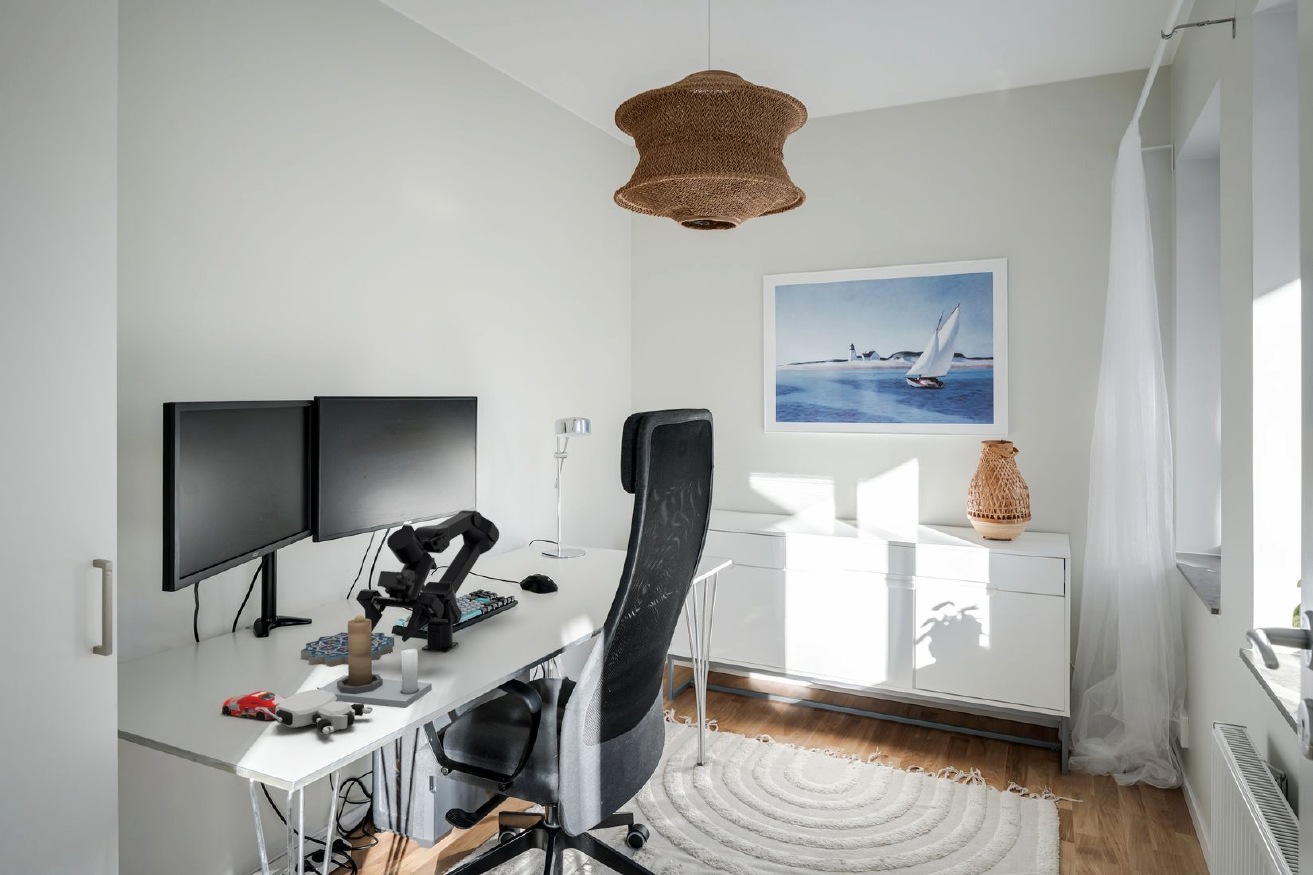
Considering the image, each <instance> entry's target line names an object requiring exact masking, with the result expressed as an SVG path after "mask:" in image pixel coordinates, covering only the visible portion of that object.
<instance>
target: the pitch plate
mask: <svg viewBox="0 0 1313 875" xmlns="http://www.w3.org/2000/svg"><path fill="white" fill-rule="evenodd" d="M400 652H401V653H400V654H401V679H391V678H390V679H388V678H382V676H381V675H380V674H378V673H372V683H371V684H368V685H362V686H357V687H356V686H349V683H348V674H344V675H342V676H340V677H338V678H336V679H335V680H333V681H331V682H329V683H327V684H325V685H324V686H322V687H320V688H321V689H322V690H324V691H327V692H331V693H334V694H335V695H336V697H337V702H345V703H346V702H347V703H355V704H366V705H367V704H368V705H379V706H386V707H395V708H396V707H397V708H407V707H408V706H411V704H413V703H414V702H416V701H417V700H419V698H421V697H422V696H424V695H426V694H427V693H428V692H430V691H431V690H432V689H433V688H432V686H433V685H432V684H433V683H431V682H421V681H419V678H418V662H419V661H418V649H417V648H406V649H403V650H401V651H400Z"/></svg>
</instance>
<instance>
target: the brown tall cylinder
mask: <svg viewBox="0 0 1313 875" xmlns="http://www.w3.org/2000/svg"><path fill="white" fill-rule="evenodd" d="M347 633H348V664H347V667H348V670H347V671H348V673H347V675H348V683H349V686H356V687H357V686H362V685H368V684H371V683H372V674H373V666H372V665H373V662H372V661H373V660H372V641H371V620H370V619H365V616H363V615H357V616H355V617H354V619H351V620H349V621H347Z"/></svg>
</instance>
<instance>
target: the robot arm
mask: <svg viewBox="0 0 1313 875" xmlns="http://www.w3.org/2000/svg"><path fill="white" fill-rule="evenodd" d="M460 535H461V537H462V541H463V545H462V546H461V548H460V549H459V551H458V552H457V554H456V555H455V557H454V558H453V560H452V561H451V562H450V564H449V565H448V568H447V569H446V570H445V572H444V573H443V575H442V576H441V577H440V579H439V581H427V583H426V580H427V578H428V576H429V574H430V572H431V570H432V571H433V570H434V571H435V570H437V569H438V566H437V563H436V560H435V557H432V556H431V554H442V553H444V552H445V551H446V549H448V547H450V542H451V540H453V539H455V538H457V537H459V536H460ZM499 538H500V531H499V528H498V527H497V525H495V523H494V522H493V521H491V520H490V519H489V518H486V517H485V516H483V515H482V514H481V512H479V511H477V510H464V509H463V510H460V511H459V512H458V513H456V514H455V515H453V516H451V517H450V518H447V519H446V520H444V521H442V522H440V523H438V524H435V525H434V524H433V525H423V526H418V527H417V528H416V529H414V527H413V525H409V524H403V525H402V527H401V528H399V529H397V530H395V531H394V532H393V533H392V534H390V535H389V536H388V538H387V540H386V544H387V547H388V548H389V550H390V551H391V552H392V553H393V555H394V556H395V558H396V559H397V560H398V561H399V562H400V563H401V564H403V567H402V569H401V570H400V571H386V570H381V571H379V577H378V581H377V584H376V585H377V587H381V588H384V592H385V593H386V594H387V595H389V596H383V595H382V594H381V592H380V591H378V589H370V588H369V589H367V588H365V589H361V590H359V592H358V594H357V596H356V598H355V600H356V601H357V602H358V603H359V605H360V606H361V607H363V610H364V618H365V619H370V620H371V633H373V631H374V630H375V628H376V627H377V625H378V623H379V622H380V620H381V618H382V617H383V616H384V615H383V614H382V612H384V611H385V610H386V607H389V608H401V609H411V610H412V611H411V616H410V617H409V620H408V622H407V624H406V627H405V629H404V631H403V634H402V637H401V641H402V642H404V643H406V641H408V640H409V639H410V638H412V637H413V636H414V635H415V634H416V633H417V632H418V631H420V630H421V629H422V628H424V627H426V626H427V627H426V630H427V632H426V642H427V644H426V645H424V646H422V647H421V651H426V650H428V651H429V652H438V651H441V652H443V653H447V652H449V651H450V650H452V649H453V648H455V647H457V646H458V645H459V642H458V641H453V625H457V624H459V623H460V622H461V620H462V610H461V608H460V607H459V606H458V601H457V593H458V591H459V589H460V588H461V587H462V585H463V583H464V581H465V580H466V578H467V577H468V576H469V573H470V572H471V571H472V568H473V567H474V565H475V564H476V563H477V560H479V557H480V556H481V555H483V554H485V553H487V552H489V551H491V550H492V549H493V547H494V546H495V545H496V544H497V542H498V541H499ZM425 583H426V584H425ZM456 645H457V646H456ZM428 651H427V652H428ZM441 652H440V653H441Z"/></svg>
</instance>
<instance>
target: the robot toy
mask: <svg viewBox="0 0 1313 875" xmlns="http://www.w3.org/2000/svg"><path fill="white" fill-rule="evenodd" d="M321 688H322V687H320V686H316V689H310V690H305V691H301V692H299V693H295V694H292V695H290V696H289V697H285V698H286V699H285V700H283V701H282V702H280V703H279V704H278V705H277V706H276V709H275V715H274V714H273V713H271V712H270V711H269V710H267V709H264V710H265V712H266V713H269V714H270V715H272V716H273V717H275V718H274V719H275V721H276V722H277V723H279V724H281V725H285V726H286V727H288V728H291V729H298V728H301V727H306V726H309V725H313V724H314V725H316V726H317V730H318V732H320V733H321V734H324V735H327V734H329V733H334V732H336V731H339V730H345V729H347V728H348V727H350V726H352V725H354V724H355V720H356V719H355V717H357V716H358V717H361V716H363V715H364V714H365V715H369V714H371V713H372V712H373V707H372V706H365V703H353V704H349V703H348V702H347V703H346V702H343V701H337V697H336V695H335V694H334V693H331V692H327V691H324V690H322V689H321Z"/></svg>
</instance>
